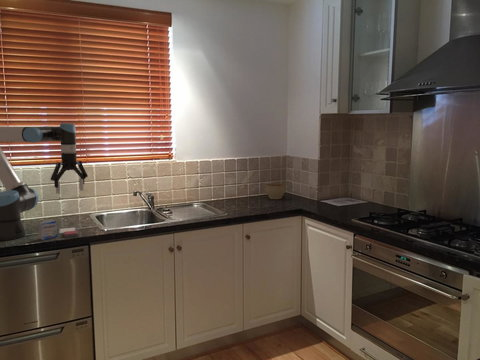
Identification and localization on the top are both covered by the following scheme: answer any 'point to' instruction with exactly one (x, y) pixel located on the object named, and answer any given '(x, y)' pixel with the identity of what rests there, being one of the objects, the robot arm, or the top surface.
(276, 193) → the planter bowl
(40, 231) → the medicine box
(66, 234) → the ink pad
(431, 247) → the top surface
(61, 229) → the paper card
